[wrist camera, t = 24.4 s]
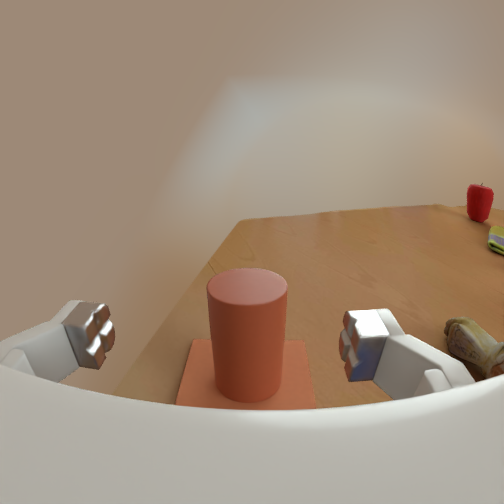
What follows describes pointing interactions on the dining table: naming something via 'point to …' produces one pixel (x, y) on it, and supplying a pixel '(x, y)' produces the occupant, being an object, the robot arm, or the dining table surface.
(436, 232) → the dining table surface
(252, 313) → the terracotta canister
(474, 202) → the apple
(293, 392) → the terracotta mat
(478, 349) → the weathered bone fragment
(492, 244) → the dish towel
